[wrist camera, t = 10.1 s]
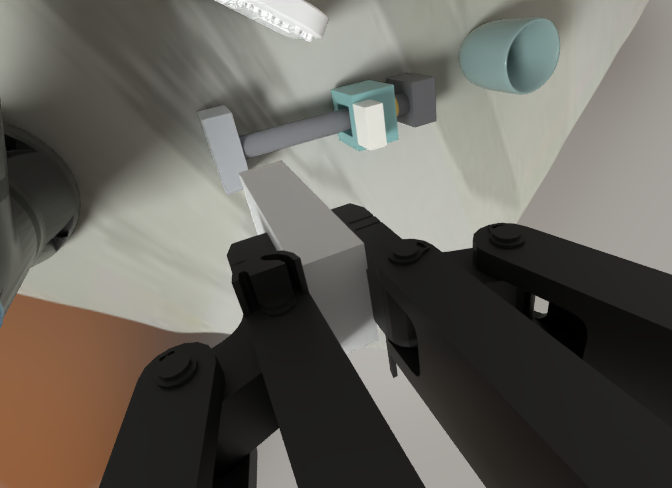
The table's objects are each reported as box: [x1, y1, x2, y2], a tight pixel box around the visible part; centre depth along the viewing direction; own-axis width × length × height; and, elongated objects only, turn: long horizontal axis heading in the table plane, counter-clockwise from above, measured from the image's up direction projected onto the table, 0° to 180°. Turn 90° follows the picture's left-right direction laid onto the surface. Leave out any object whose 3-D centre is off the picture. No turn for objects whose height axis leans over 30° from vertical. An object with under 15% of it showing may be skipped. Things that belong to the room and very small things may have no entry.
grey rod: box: [239, 93, 410, 159], centre depth 45 cm, size 21×3×3 cm, turn 101°
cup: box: [459, 17, 560, 95], centre depth 48 cm, size 8×8×10 cm
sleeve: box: [331, 80, 398, 151], centre depth 45 cm, size 5×6×9 cm
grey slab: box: [197, 105, 248, 195], centre depth 43 cm, size 3×8×5 cm, turn 11°
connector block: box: [386, 73, 436, 127], centre depth 49 cm, size 3×5×6 cm, turn 11°
